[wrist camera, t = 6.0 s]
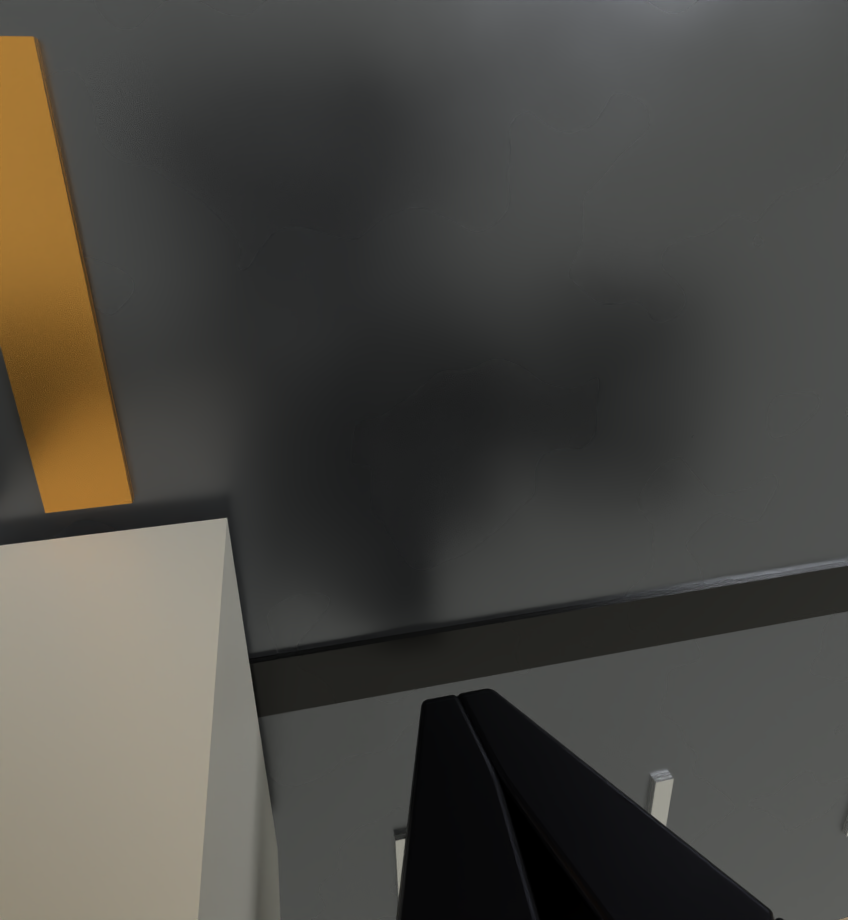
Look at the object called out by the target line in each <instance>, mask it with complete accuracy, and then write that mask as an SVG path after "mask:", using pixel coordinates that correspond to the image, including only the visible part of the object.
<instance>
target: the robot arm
mask: <svg viewBox="0 0 848 920" xmlns="http://www.w3.org/2000/svg"><path fill="white" fill-rule="evenodd" d="M396 920H774V915H773V912H772V911H771V909H770V908H768V907H767V906H766V905H764V904H763V903H762V902H761V901H759V900H758V899H757V898H756V897H754V896H753V895H752V894H751V893H749V892H748V891H747V890H746V889H744V888H743V887H742V886H741V885H739V884H738V883H737V882H735V881H734V880H733V879H732V878H730V877H729V876H728V875H727V874H725V873H724V872H723V871H722V870H720V869H719V868H718V867H717V866H715V865H714V864H713V863H712V862H710V861H709V860H708V859H706V858H705V857H704V856H703V855H701V854H700V853H699V852H698V851H696V850H695V849H694V848H693V847H691V846H690V845H689V844H688V843H686V842H685V841H684V840H683V839H681V838H680V837H679V836H678V835H676V834H675V833H674V832H672V831H671V830H670V829H669V828H667V827H666V826H665V825H664V824H662V823H661V822H660V821H659V820H657V819H656V818H655V817H654V816H652V815H651V814H650V813H649V812H647V811H646V810H645V809H643V808H642V807H641V806H640V805H638V804H637V803H636V802H635V801H633V800H632V799H631V798H630V797H628V796H627V795H626V794H625V793H623V792H622V791H621V790H620V789H618V788H617V787H616V786H615V785H613V784H612V783H611V782H609V781H608V780H607V779H606V778H604V777H603V776H602V775H601V774H599V773H598V772H597V771H596V770H594V769H593V768H592V767H591V766H589V765H588V764H587V763H586V762H584V761H583V760H582V759H580V758H579V757H578V756H577V755H575V754H574V753H573V752H572V751H570V750H569V749H568V748H567V747H565V746H564V745H563V744H562V743H560V742H559V741H558V740H557V739H555V738H554V737H553V736H551V735H550V734H549V733H548V732H546V731H545V730H544V729H543V728H541V727H540V726H539V725H538V724H536V723H535V722H534V721H533V720H531V719H530V718H529V717H528V716H526V715H525V714H524V713H523V712H521V711H520V710H519V709H517V708H516V707H515V706H514V705H512V704H511V703H510V702H509V701H507V700H506V699H505V698H504V697H502V696H501V695H500V694H499V693H497V692H496V691H494V690H492V689H488V688H486V689H480V690H475V691H469V692H464V693H460V694H459V695H458V696H455V695H448V696H443V697H437V698H432V699H427V700H425V701H423V703H422V705H421V711H420V719H419V728H418V736H417V745H416V753H415V762H414V770H413V779H412V787H411V795H410V804H409V812H408V821H407V829H406V838H405V846H404V855H403V863H402V872H401V880H400V889H399V897H398V906H397V914H396ZM775 920H784V919H782V918H776V919H775Z"/></svg>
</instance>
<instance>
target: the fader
mask: <svg viewBox="0 0 848 920" xmlns="http://www.w3.org/2000/svg"><path fill="white" fill-rule="evenodd" d="M0 920H280V896H279V870H278V847H277V841H276V834H275V828H274V821H273V815H272V808H271V802H270V795H269V789H268V782H267V775H266V769H265V762H264V756H263V749H262V743H261V736H260V730H259V723H258V717H257V710H256V704H255V697H254V691H253V684H252V678H251V671H250V665H249V658H248V651H247V645H246V638H245V632H244V625H243V619H242V612H241V606H240V599H239V593H238V586H237V580H236V573H235V567H234V560H233V554H232V547H231V540H230V534H229V527H228V521H227V518H221V519H213V520H205V521H197V522H188V523H180V524H172V525H164V526H156V527H148V528H139V529H131V530H123V531H115V532H107V533H98V534H90V535H82V536H74V537H66V538H57V539H49V540H41V541H33V542H25V543H16V544H8V545H0Z"/></svg>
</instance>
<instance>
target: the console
mask: <svg viewBox="0 0 848 920" xmlns="http://www.w3.org/2000/svg"><path fill="white" fill-rule="evenodd" d="M221 518H227V521H228V527H229V534H230V540H231V547H232V554H233V560H234V567H235V573H236V580H237V586H238V593H239V599H240V606H241V612H242V619H243V625H244V632H245V638H246V645H247V651H248V658H249V665H250V671H251V678H252V684H253V691H254V697H255V704H256V710H257V717H258V723H259V730H260V736H261V743H262V749H263V756H264V762H265V769H266V775H267V782H268V789H269V795H270V802H271V808H272V815H273V821H274V828H275V834H276V841H277V847H278V870H279V896H280V920H396V914H397V906H398V897H399V889H400V880H401V872H402V863H403V855H404V846H405V838H406V829H407V821H408V812H409V804H410V795H411V787H412V779H413V770H414V762H415V753H416V745H417V736H418V728H419V719H420V711H421V705H422V703H423V701H425V700H427V699H432V698H437V697H443V696H448V695H455V696H458V695H459V694H460V693H464V692H469V691H475V690H480V689H486V688H488V689H492V690H494V691H496V692H497V693H499V694H500V695H501V696H502V697H504V698H505V699H506V700H507V701H509V702H510V703H511V704H512V705H514V706H515V707H516V708H517V709H519V710H520V711H521V712H523V713H524V714H525V715H526V716H528V717H529V718H530V719H531V720H533V721H534V722H535V723H536V724H538V725H539V726H540V727H541V728H543V729H544V730H545V731H546V732H548V733H549V734H550V735H551V736H553V737H554V738H555V739H557V740H558V741H559V742H560V743H562V744H563V745H564V746H565V747H567V748H568V749H569V750H570V751H572V752H573V753H574V754H575V755H577V756H578V757H579V758H580V759H582V760H583V761H584V762H586V763H587V764H588V765H589V766H591V767H592V768H593V769H594V770H596V771H597V772H598V773H599V774H601V775H602V776H603V777H604V778H606V779H607V780H608V781H609V782H611V783H612V784H613V785H615V786H616V787H617V788H618V789H620V790H621V791H622V792H623V793H625V794H626V795H627V796H628V797H630V798H631V799H632V800H633V801H635V802H636V803H637V804H638V805H640V806H641V807H642V808H643V809H645V810H646V811H647V812H649V813H650V814H651V815H652V816H654V817H655V818H656V819H657V820H659V821H660V822H661V823H662V824H664V825H665V826H666V827H667V828H669V829H670V830H671V831H672V832H674V833H675V834H676V835H678V836H679V837H680V838H681V839H683V840H684V841H685V842H686V843H688V844H689V845H690V846H691V847H693V848H694V849H695V850H696V851H698V852H699V853H700V854H701V855H703V856H704V857H705V858H706V859H708V860H709V861H710V862H712V863H713V864H714V865H715V866H717V867H718V868H719V869H720V870H722V871H723V872H724V873H725V874H727V875H728V876H729V877H730V878H732V879H733V880H734V881H735V882H737V883H738V884H739V885H741V886H742V887H743V888H744V889H746V890H747V891H748V892H749V893H751V894H752V895H753V896H754V897H756V898H757V899H758V900H759V901H761V902H762V903H763V904H764V905H766V906H767V907H768V908H770V909H771V911H772V912H773V915H774V920H775V919H776V918H782V919H784V920H839V919H842V918H846V917H848V0H0V545H8V544H16V543H25V542H33V541H41V540H49V539H57V538H66V537H74V536H82V535H90V534H98V533H107V532H115V531H123V530H131V529H139V528H148V527H156V526H164V525H172V524H180V523H188V522H197V521H205V520H213V519H221Z"/></svg>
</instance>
